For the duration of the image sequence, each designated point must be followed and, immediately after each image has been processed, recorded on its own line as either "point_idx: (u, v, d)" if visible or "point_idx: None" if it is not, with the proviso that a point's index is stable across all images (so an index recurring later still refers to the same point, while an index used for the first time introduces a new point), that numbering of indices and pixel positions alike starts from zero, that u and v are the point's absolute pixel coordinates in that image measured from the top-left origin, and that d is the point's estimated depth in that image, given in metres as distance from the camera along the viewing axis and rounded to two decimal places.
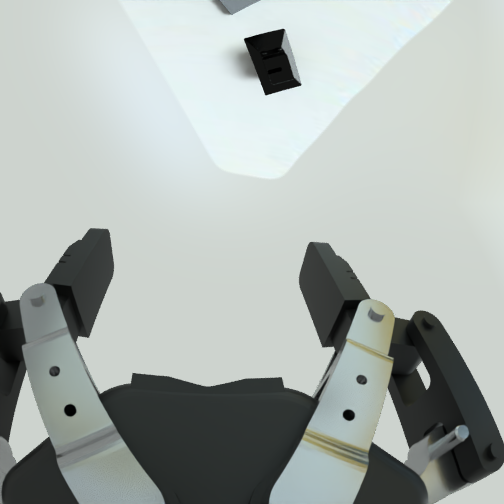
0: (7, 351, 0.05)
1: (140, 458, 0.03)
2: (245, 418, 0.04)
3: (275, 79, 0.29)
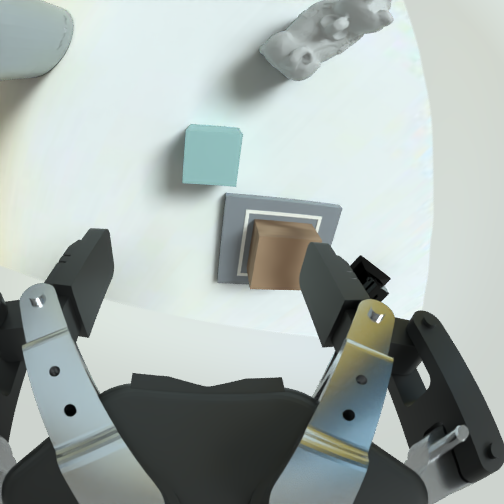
0: (7, 351, 0.05)
1: (140, 458, 0.03)
2: (245, 418, 0.04)
3: None
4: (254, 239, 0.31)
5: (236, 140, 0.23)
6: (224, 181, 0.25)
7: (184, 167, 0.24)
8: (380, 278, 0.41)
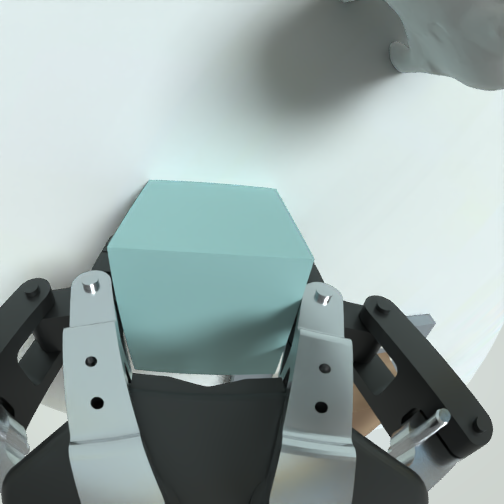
0: (46, 342, 0.06)
1: (156, 463, 0.03)
2: (245, 418, 0.04)
3: None
4: None
5: (290, 278, 0.07)
6: (245, 367, 0.09)
7: (130, 343, 0.08)
8: None
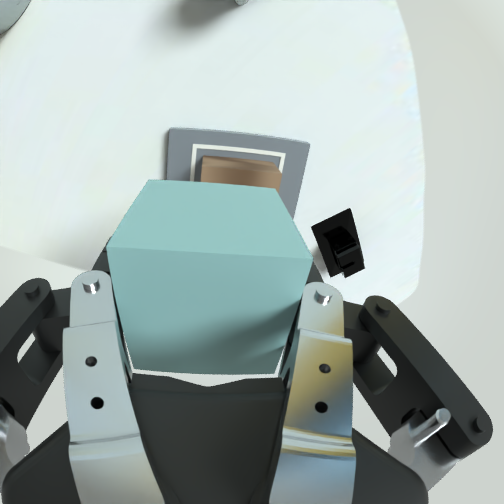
0: (46, 342, 0.06)
1: (156, 463, 0.03)
2: (245, 418, 0.04)
3: (348, 272, 0.33)
4: None
5: (289, 277, 0.07)
6: (244, 367, 0.09)
7: (129, 342, 0.08)
8: None
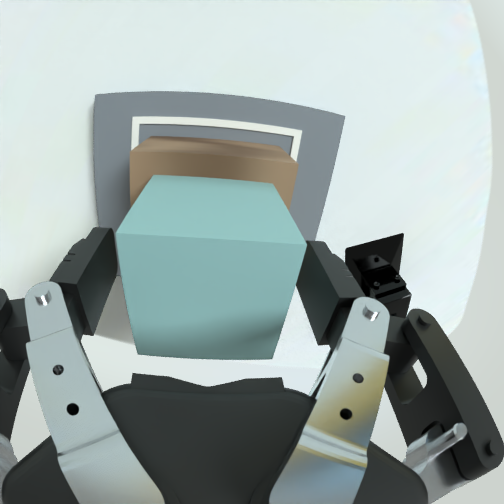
0: (11, 350, 0.05)
1: (142, 459, 0.03)
2: (245, 418, 0.04)
3: None
4: None
5: (284, 263, 0.08)
6: (243, 352, 0.10)
7: (134, 327, 0.08)
8: None
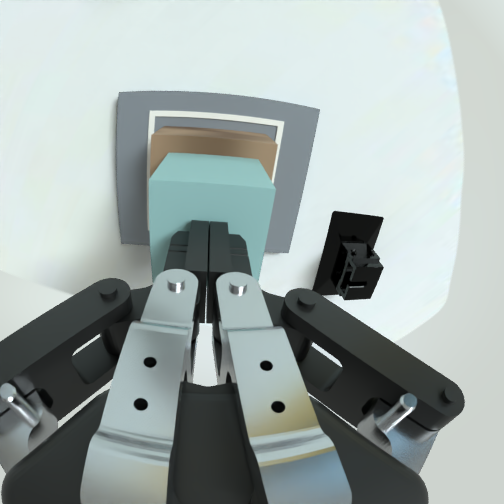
0: (112, 345, 0.07)
1: (177, 477, 0.03)
2: None
3: (352, 294, 0.23)
4: None
5: (261, 202, 0.11)
6: None
7: (153, 255, 0.12)
8: None
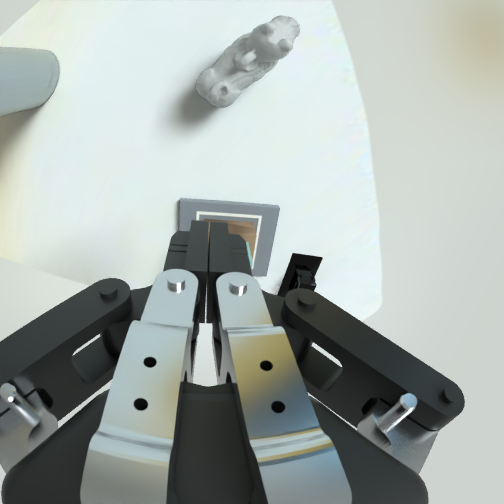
0: (112, 345, 0.07)
1: (177, 477, 0.03)
2: None
3: None
4: None
5: None
6: None
7: None
8: None
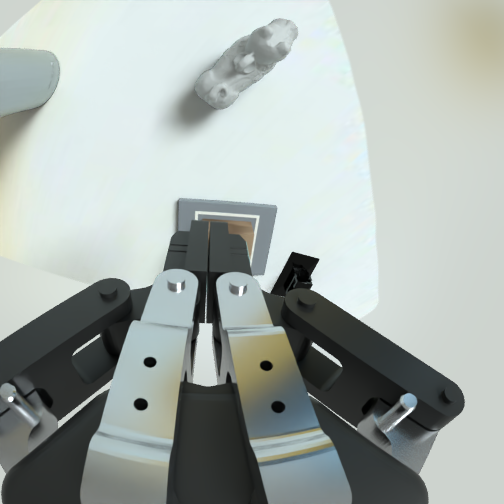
0: (111, 345, 0.07)
1: (177, 477, 0.03)
2: None
3: None
4: None
5: None
6: None
7: None
8: None
